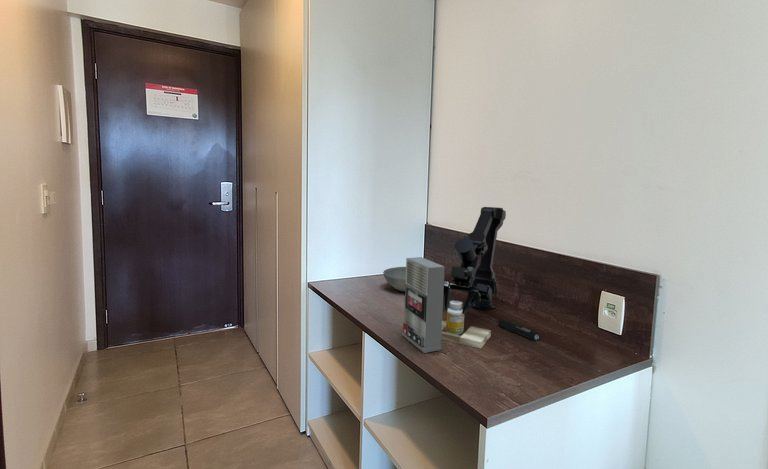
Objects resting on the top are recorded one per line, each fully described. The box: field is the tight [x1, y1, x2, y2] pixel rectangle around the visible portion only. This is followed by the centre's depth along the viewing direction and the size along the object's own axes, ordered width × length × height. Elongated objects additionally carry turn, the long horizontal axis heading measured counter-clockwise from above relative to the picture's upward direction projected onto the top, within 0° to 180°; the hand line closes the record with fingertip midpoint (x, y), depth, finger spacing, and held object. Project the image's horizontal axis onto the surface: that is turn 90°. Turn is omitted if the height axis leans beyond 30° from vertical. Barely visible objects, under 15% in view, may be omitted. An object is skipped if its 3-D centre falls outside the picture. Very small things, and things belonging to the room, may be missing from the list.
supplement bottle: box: [446, 300, 465, 335], centre depth 130 cm, size 5×5×10 cm
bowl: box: [382, 266, 406, 292], centre depth 181 cm, size 21×21×8 cm
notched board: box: [441, 319, 492, 349], centre depth 130 cm, size 11×17×2 cm, turn 61°
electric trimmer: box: [497, 317, 541, 342], centre depth 134 cm, size 4×16×3 cm, turn 33°
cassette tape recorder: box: [401, 256, 446, 354], centre depth 122 cm, size 14×6×25 cm, turn 24°
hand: (454, 311), depth 128 cm, fingers closed on supplement bottle, 5 cm apart
